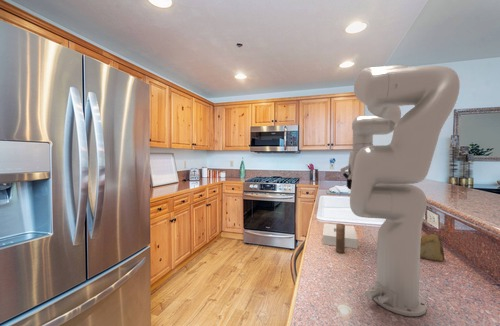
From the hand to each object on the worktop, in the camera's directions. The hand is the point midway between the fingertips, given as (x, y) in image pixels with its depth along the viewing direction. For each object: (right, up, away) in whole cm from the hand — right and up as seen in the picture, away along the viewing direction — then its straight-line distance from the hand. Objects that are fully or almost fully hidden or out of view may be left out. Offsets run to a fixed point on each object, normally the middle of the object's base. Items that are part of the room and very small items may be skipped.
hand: (361, 188), depth 93 cm
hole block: (-6, -25, +9) cm, 27 cm away
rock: (+20, -26, -9) cm, 34 cm away
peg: (-11, -25, -4) cm, 28 cm away
